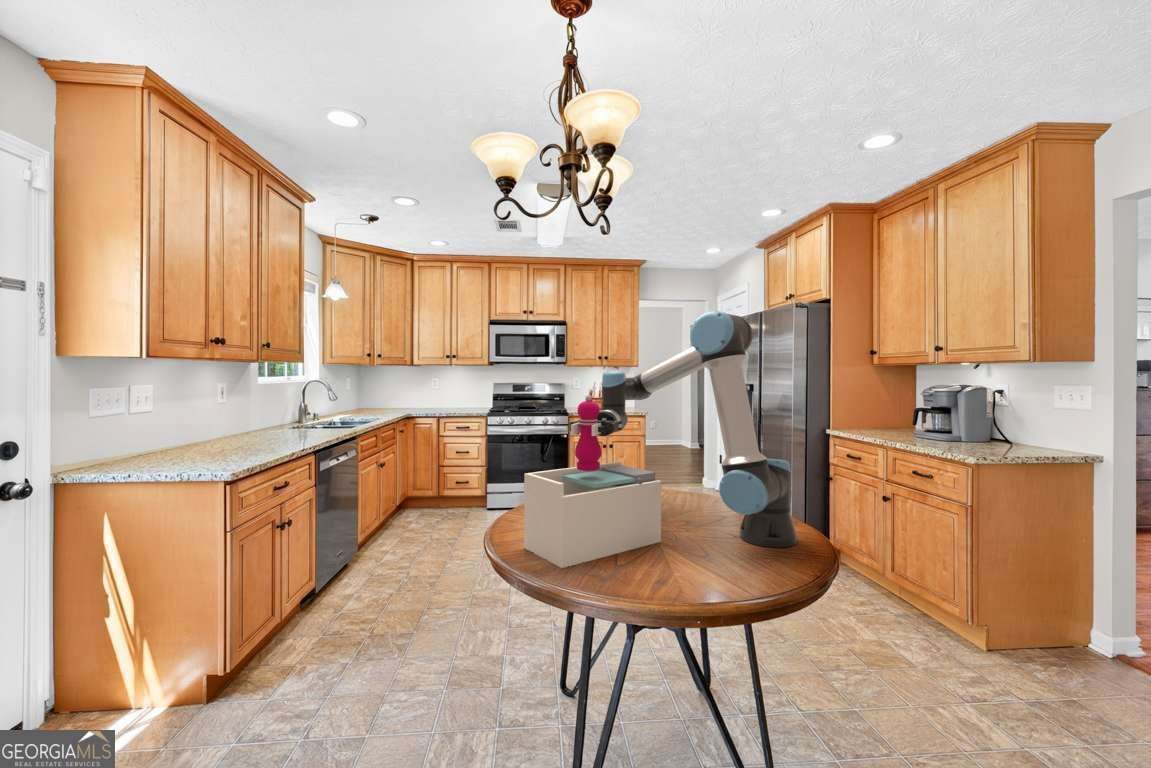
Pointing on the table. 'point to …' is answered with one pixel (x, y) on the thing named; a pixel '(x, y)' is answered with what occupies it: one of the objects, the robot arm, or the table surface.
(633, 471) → the trapdoor
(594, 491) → the frame
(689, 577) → the table surface
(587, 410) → the pepper mill
